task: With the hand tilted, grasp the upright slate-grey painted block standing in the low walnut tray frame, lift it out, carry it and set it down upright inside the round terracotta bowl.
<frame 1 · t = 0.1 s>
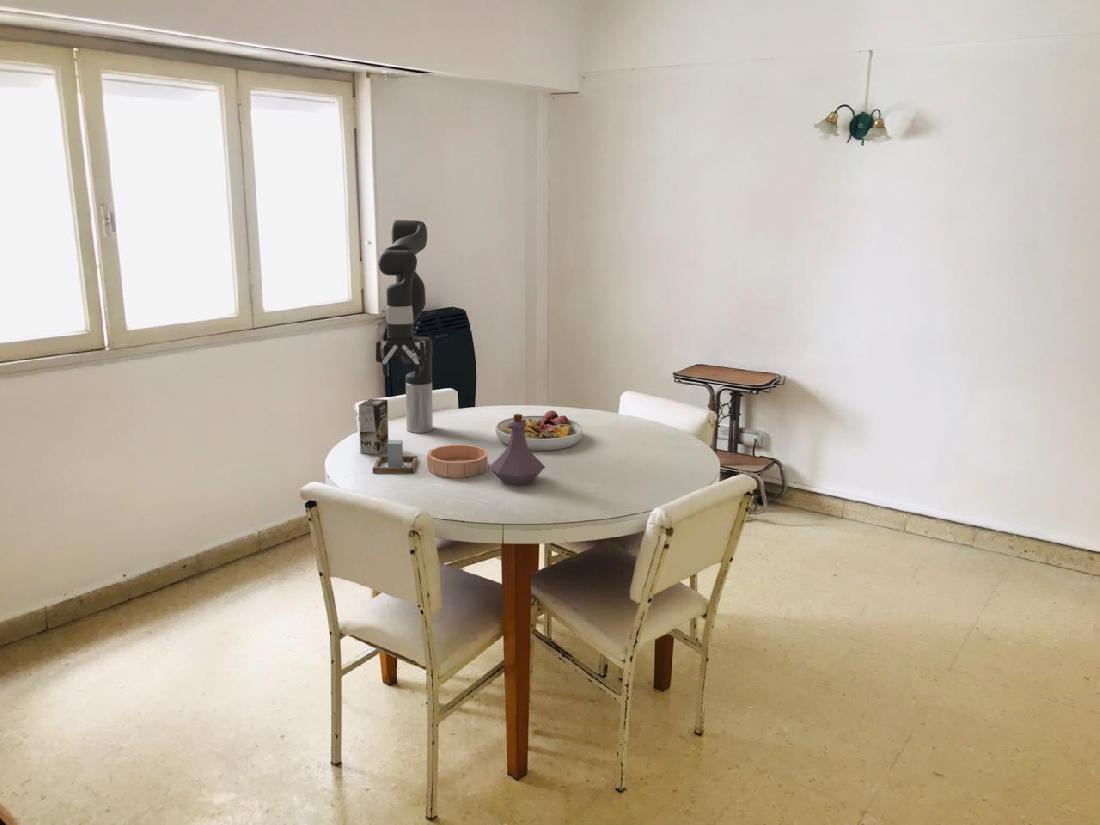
hand: (401, 376, 234), 29 cm above the table, tool pointing down, fingers open, 8 cm apart
coffee box: (374, 450, 261), on the table
flask: (517, 481, 235), on the table
bowl 2: (538, 441, 276), on the table
bowl: (457, 468, 245), on the table
tray frame: (395, 466, 245), on the table
block: (395, 454, 244), in the tray frame
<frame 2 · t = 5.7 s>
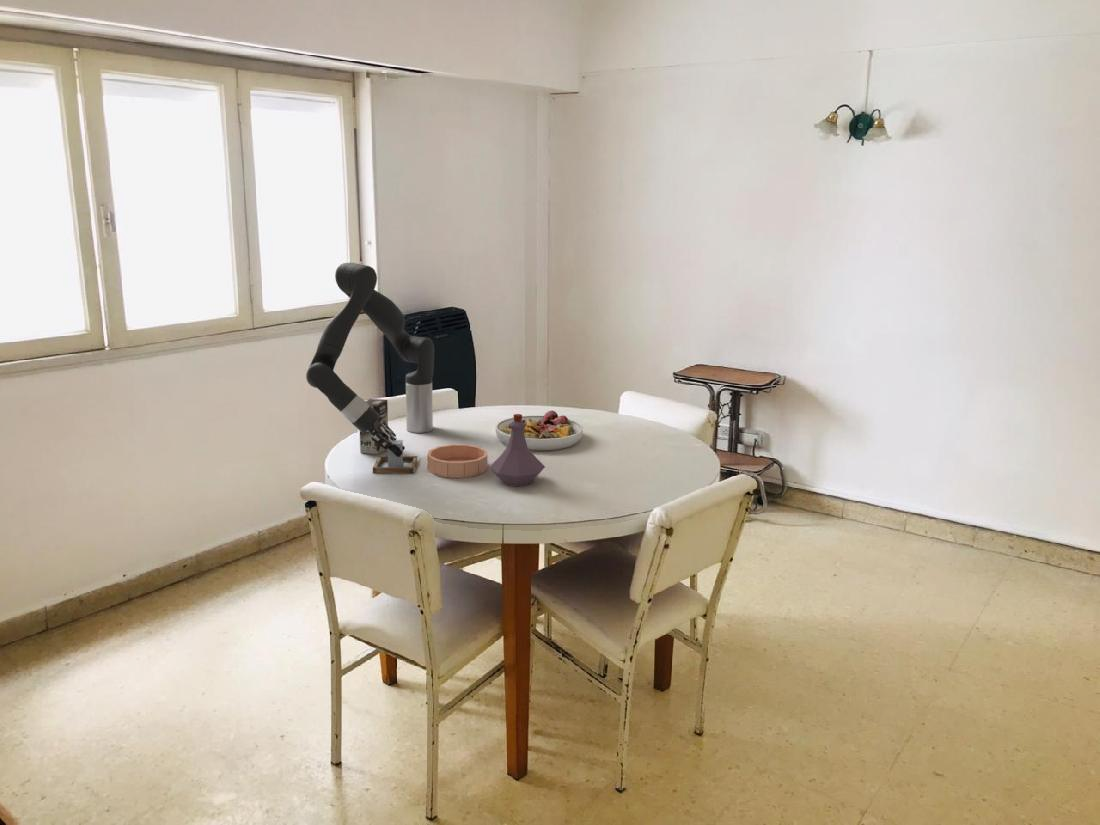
hand: (401, 452, 244), 5 cm above the table, tool tilted 45°, fingers closed on block, 4 cm apart
block: (395, 454, 244), in the tray frame, touching gripper
everything else where it was.
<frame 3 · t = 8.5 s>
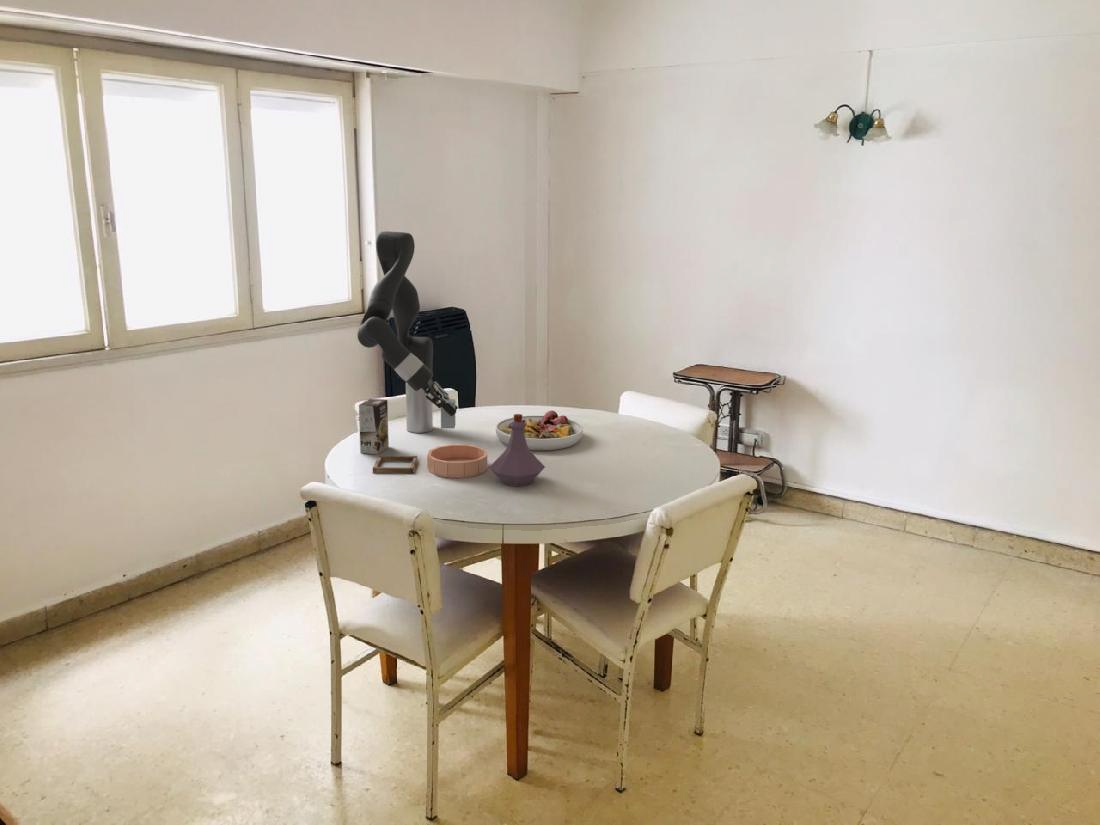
hand: (454, 411, 240), 18 cm above the table, tool tilted 45°, fingers closed on block, 4 cm apart
block: (448, 413, 240), point 17 cm above the table, touching gripper
everything else where it was.
when the fingers open (7 cm above the table, at t = 11.2 s): block drops 2 cm, resting on bowl.
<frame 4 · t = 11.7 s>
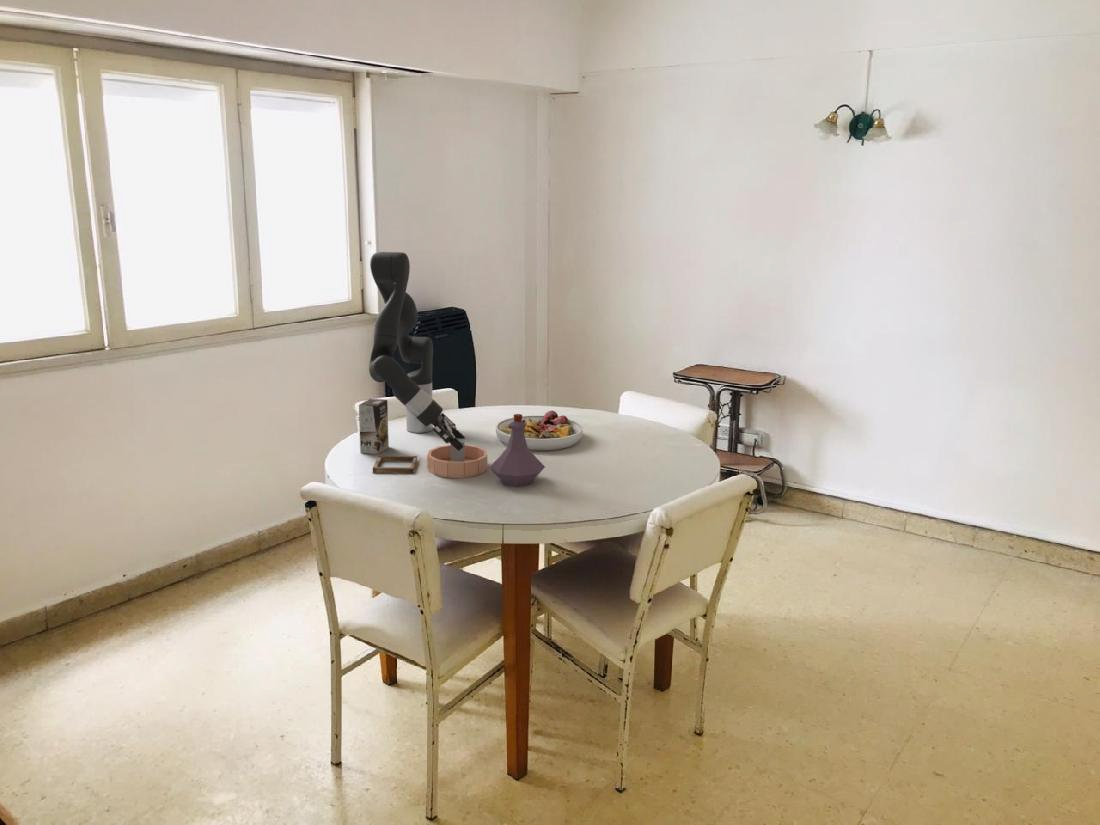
hand: (462, 444, 243), 8 cm above the table, tool tilted 45°, fingers open, 8 cm apart
block: (457, 453, 244), in the bowl, point 5 cm above the table
everything else where it was.
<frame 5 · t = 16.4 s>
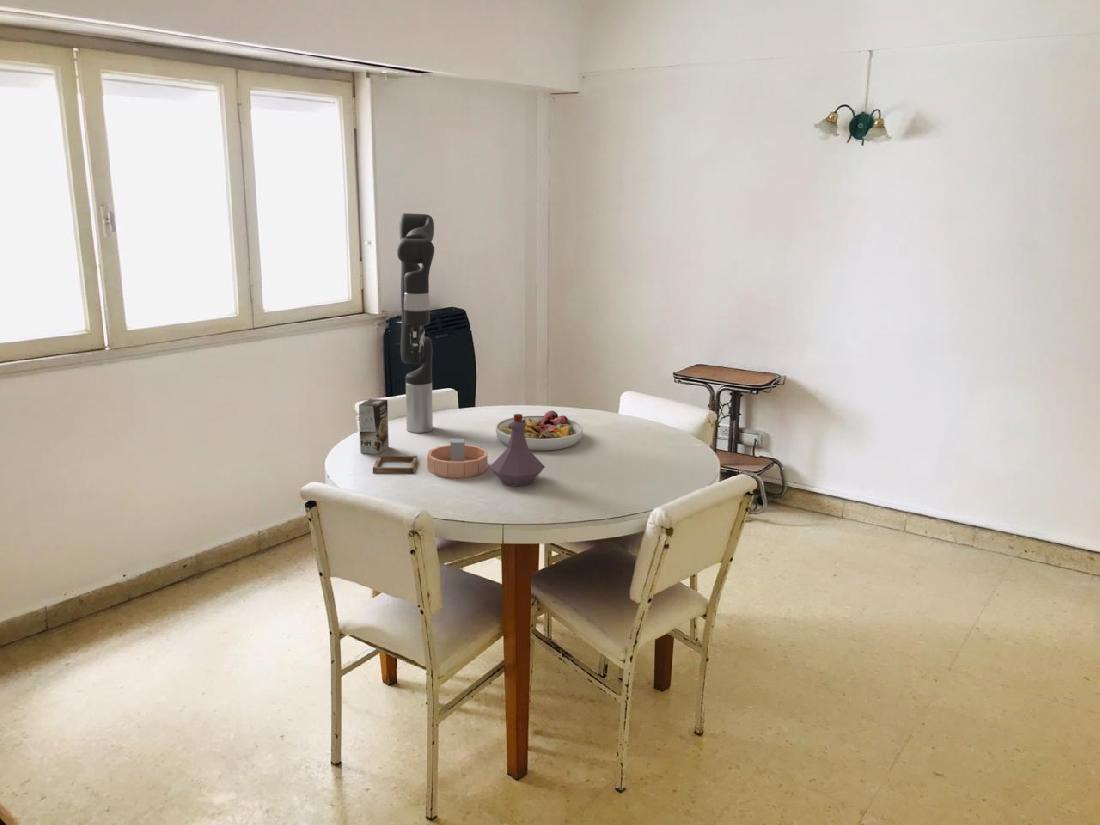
hand: (417, 362, 240), 32 cm above the table, tool pointing down, fingers open, 8 cm apart
nothing on the table moved.
at the end: block inside the target area on the bowl (0.1 cm from its centre), point 4.8 cm above the bowl's base; block tilted 0°; the gripper is holding nothing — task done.
